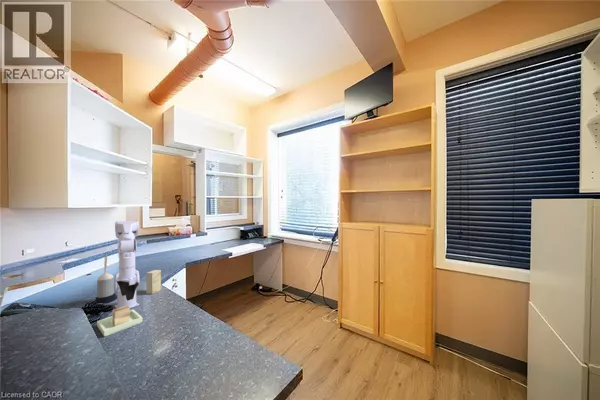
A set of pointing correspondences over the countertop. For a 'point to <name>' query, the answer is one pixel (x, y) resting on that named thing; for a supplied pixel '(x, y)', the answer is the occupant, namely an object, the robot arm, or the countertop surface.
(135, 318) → the tray
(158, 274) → the light wooden block
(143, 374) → the countertop surface
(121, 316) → the block
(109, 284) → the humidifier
